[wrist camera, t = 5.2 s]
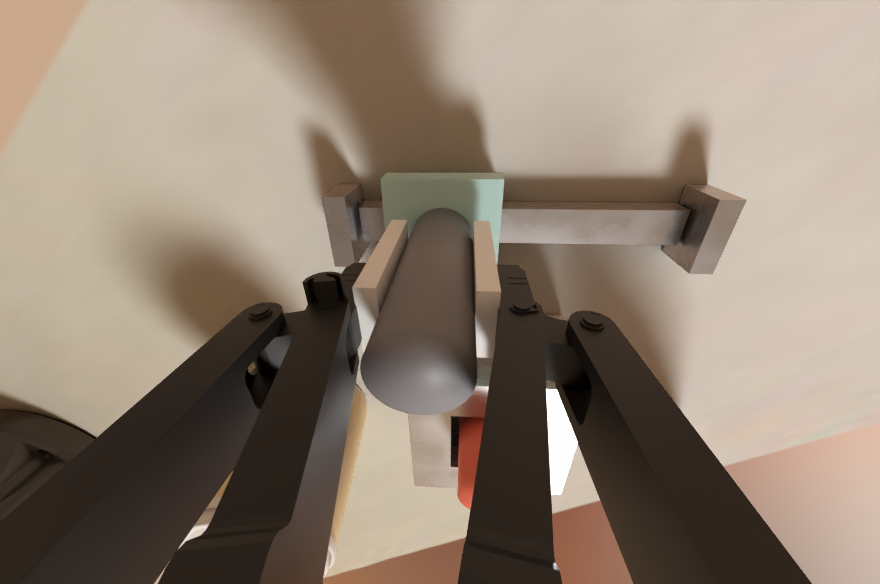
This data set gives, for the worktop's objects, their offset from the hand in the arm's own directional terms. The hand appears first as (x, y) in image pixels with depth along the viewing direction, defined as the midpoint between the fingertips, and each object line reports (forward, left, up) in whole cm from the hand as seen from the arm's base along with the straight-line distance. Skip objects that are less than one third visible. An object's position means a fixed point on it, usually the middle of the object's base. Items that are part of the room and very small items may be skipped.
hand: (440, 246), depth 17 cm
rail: (+4, 0, -5) cm, 6 cm away
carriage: (0, 0, -5) cm, 5 cm away
